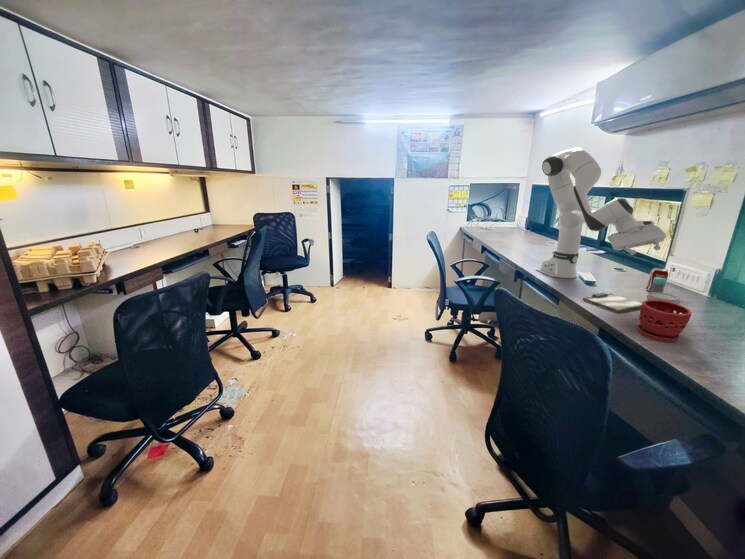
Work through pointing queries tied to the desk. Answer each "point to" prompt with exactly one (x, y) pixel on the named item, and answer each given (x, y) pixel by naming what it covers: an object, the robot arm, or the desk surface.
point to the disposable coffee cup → (663, 298)
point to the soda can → (656, 273)
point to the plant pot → (662, 320)
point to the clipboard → (613, 302)
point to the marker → (658, 284)
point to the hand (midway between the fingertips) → (646, 251)
